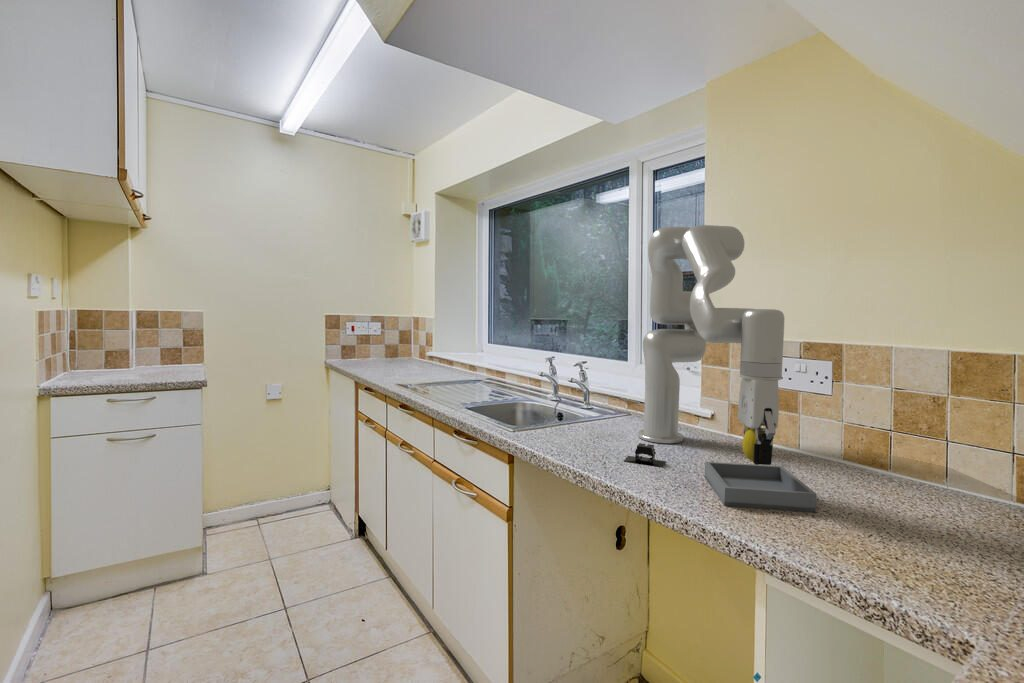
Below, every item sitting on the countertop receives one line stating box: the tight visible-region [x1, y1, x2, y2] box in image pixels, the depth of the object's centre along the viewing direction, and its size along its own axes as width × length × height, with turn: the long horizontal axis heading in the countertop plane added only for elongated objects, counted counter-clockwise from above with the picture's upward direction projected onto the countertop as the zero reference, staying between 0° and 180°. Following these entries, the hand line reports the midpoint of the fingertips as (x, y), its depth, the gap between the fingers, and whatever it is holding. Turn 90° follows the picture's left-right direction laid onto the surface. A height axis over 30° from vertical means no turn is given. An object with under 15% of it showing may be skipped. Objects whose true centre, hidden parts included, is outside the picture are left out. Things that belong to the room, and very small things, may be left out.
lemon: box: [741, 426, 774, 465], centre depth 97 cm, size 6×6×8 cm
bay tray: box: [704, 461, 817, 513], centre depth 98 cm, size 16×16×4 cm
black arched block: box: [623, 442, 667, 469], centre depth 118 cm, size 12×7×5 cm, turn 63°
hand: (756, 458), depth 98 cm, fingers closed on lemon, 5 cm apart
